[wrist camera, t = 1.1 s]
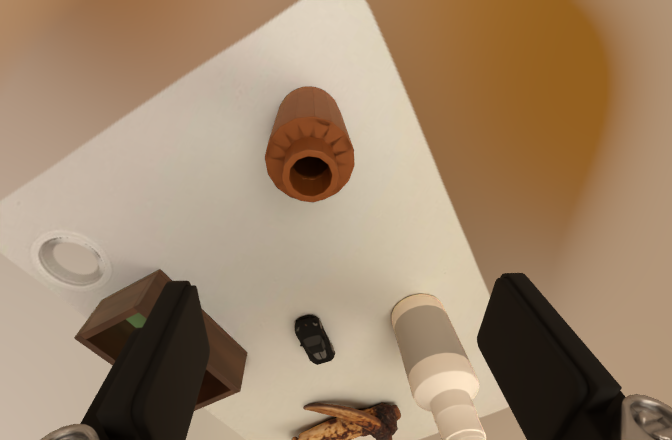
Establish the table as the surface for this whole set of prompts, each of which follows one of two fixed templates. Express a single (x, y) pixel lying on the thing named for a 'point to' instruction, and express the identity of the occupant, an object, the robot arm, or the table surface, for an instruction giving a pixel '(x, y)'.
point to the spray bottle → (437, 367)
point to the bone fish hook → (353, 422)
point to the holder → (130, 313)
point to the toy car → (314, 339)
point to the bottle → (309, 146)
